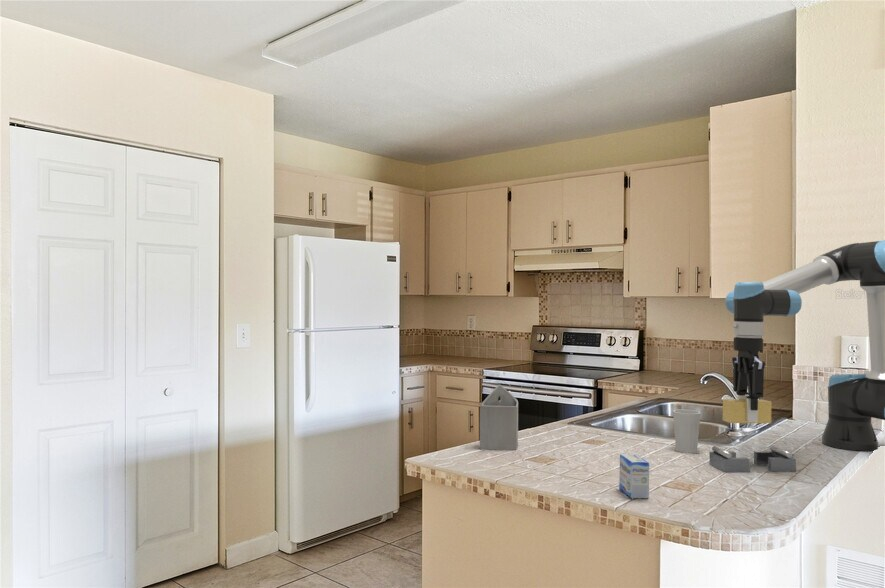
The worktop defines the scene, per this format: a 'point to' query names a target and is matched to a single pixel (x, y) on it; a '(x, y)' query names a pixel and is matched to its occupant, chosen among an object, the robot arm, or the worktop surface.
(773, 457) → the bracket
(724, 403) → the gold rectangular block
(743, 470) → the chain end
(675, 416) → the cup
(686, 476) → the worktop surface
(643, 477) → the medicine box
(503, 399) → the planter
